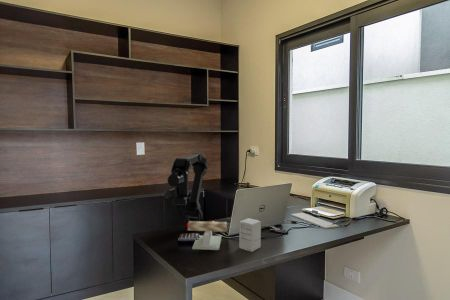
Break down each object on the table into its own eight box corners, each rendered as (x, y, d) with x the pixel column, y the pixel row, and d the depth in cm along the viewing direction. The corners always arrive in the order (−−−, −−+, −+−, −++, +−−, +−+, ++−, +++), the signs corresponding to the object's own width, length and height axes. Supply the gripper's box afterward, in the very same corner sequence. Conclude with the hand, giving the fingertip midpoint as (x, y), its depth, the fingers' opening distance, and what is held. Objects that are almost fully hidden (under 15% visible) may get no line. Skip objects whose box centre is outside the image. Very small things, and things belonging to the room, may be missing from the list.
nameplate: (293, 230, 167) (279, 233, 161) (293, 233, 167) (279, 236, 162) (262, 218, 190) (248, 220, 185) (262, 220, 190) (248, 223, 185)
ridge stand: (197, 237, 158) (197, 224, 157) (221, 238, 157) (221, 225, 157) (192, 249, 142) (192, 234, 142) (218, 249, 141) (219, 235, 141)
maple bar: (226, 229, 151) (226, 221, 150) (226, 231, 147) (226, 224, 147) (189, 228, 151) (189, 221, 151) (188, 230, 148) (188, 223, 148)
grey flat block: (305, 214, 207) (290, 216, 202) (305, 210, 207) (291, 211, 202) (341, 227, 179) (325, 230, 174) (341, 222, 179) (325, 225, 174)
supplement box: (247, 243, 150) (248, 217, 149) (261, 247, 145) (261, 220, 144) (238, 248, 144) (239, 221, 143) (251, 252, 139) (252, 224, 138)
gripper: (170, 180, 164) (169, 209, 165) (161, 186, 145) (161, 219, 146) (191, 180, 164) (191, 210, 165) (185, 186, 145) (185, 220, 146)
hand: (182, 214), depth 155 cm, fingers open, 9 cm apart
